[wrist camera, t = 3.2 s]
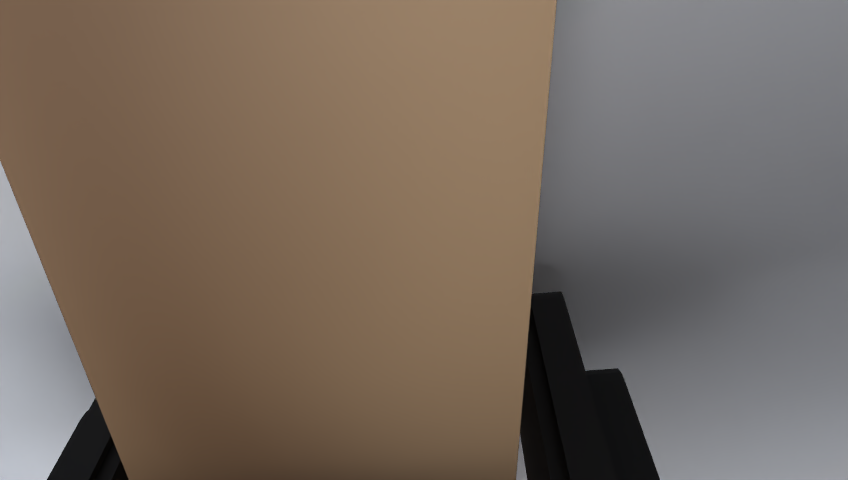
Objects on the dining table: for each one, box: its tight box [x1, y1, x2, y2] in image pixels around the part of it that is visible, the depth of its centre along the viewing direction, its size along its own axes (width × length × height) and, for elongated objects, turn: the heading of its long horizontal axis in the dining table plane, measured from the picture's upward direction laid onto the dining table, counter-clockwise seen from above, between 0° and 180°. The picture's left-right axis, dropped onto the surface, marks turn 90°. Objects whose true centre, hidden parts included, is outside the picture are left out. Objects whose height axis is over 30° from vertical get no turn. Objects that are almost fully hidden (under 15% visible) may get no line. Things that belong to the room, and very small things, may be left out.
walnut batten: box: [0, 0, 557, 480], centre depth 10 cm, size 4×22×5 cm, turn 1°
